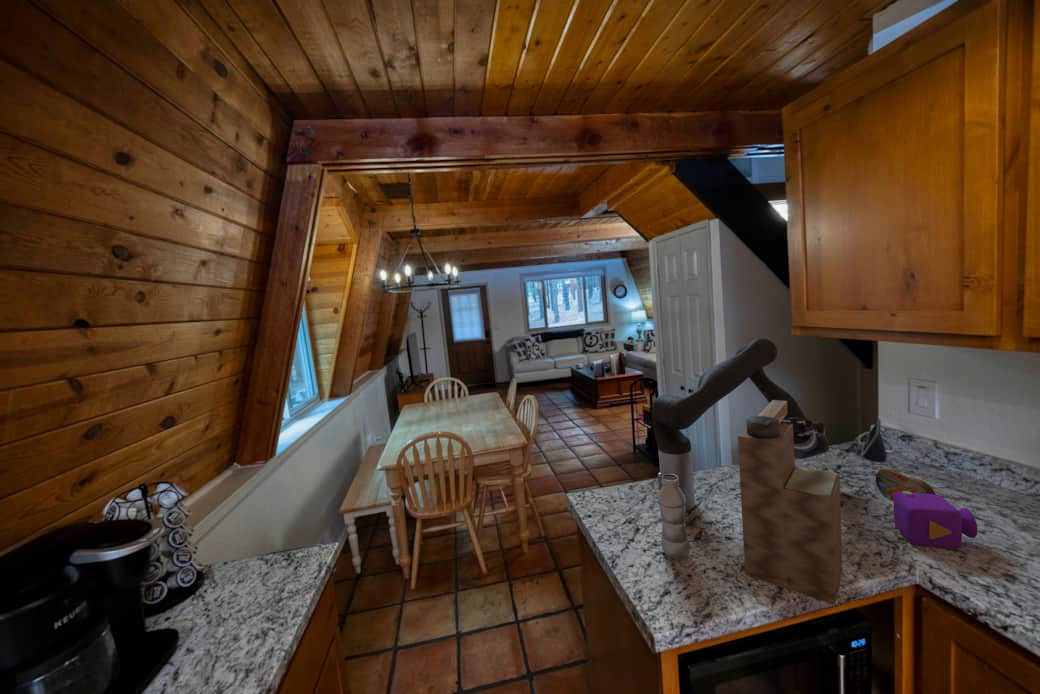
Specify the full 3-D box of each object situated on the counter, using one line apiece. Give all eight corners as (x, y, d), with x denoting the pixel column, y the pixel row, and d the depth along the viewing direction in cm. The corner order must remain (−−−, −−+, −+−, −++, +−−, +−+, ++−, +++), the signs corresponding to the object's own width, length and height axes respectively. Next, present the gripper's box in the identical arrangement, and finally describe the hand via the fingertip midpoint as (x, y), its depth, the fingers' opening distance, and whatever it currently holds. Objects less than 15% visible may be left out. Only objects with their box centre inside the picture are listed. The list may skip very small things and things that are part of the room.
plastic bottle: (676, 567, 96) (670, 486, 94) (656, 552, 102) (650, 475, 100) (696, 557, 98) (691, 478, 96) (675, 543, 104) (670, 469, 102)
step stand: (745, 574, 91) (737, 436, 87) (758, 547, 100) (752, 420, 96) (835, 605, 80) (830, 448, 76) (842, 571, 89) (838, 429, 85)
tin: (874, 492, 118) (874, 464, 117) (885, 490, 118) (885, 463, 117) (927, 519, 103) (927, 487, 102) (939, 517, 103) (939, 486, 102)
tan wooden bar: (743, 436, 87) (742, 422, 87) (766, 411, 102) (765, 399, 101) (776, 440, 83) (775, 426, 83) (794, 413, 97) (794, 401, 97)
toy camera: (991, 553, 89) (991, 510, 88) (917, 552, 92) (917, 510, 91) (950, 526, 100) (950, 487, 99) (885, 525, 103) (884, 488, 101)
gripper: (770, 418, 122) (757, 404, 111) (829, 423, 112) (821, 409, 101) (768, 443, 120) (754, 431, 109) (828, 451, 110) (820, 439, 99)
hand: (786, 420), depth 105 cm, fingers open, 8 cm apart
